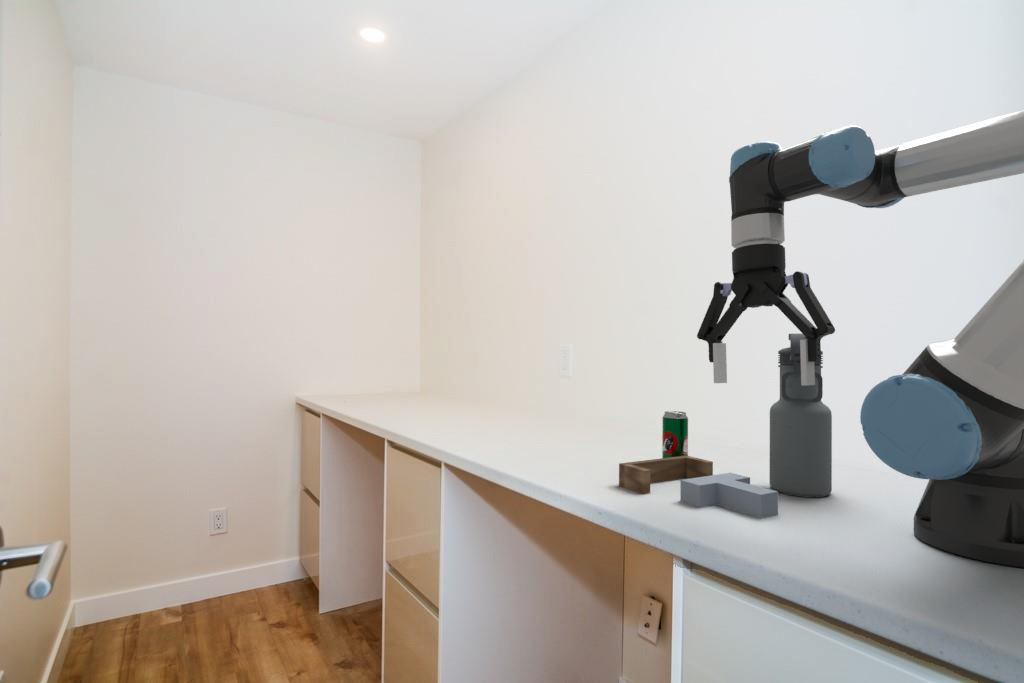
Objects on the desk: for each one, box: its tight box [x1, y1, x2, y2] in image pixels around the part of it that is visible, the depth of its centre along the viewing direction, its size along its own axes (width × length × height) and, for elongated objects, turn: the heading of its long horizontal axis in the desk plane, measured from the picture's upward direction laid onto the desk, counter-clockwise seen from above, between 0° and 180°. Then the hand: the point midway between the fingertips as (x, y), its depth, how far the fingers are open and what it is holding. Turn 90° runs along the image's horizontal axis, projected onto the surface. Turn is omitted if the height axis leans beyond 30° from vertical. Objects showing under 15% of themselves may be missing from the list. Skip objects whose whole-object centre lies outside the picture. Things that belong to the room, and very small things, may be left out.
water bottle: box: [769, 333, 833, 498], centre depth 96 cm, size 10×10×28 cm
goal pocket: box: [618, 455, 714, 495], centre depth 100 cm, size 6×17×4 cm, turn 118°
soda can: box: [661, 410, 689, 458], centre depth 111 cm, size 5×5×12 cm
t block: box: [679, 472, 779, 519], centre depth 86 cm, size 12×12×4 cm
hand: (761, 384), depth 83 cm, fingers open, 13 cm apart
